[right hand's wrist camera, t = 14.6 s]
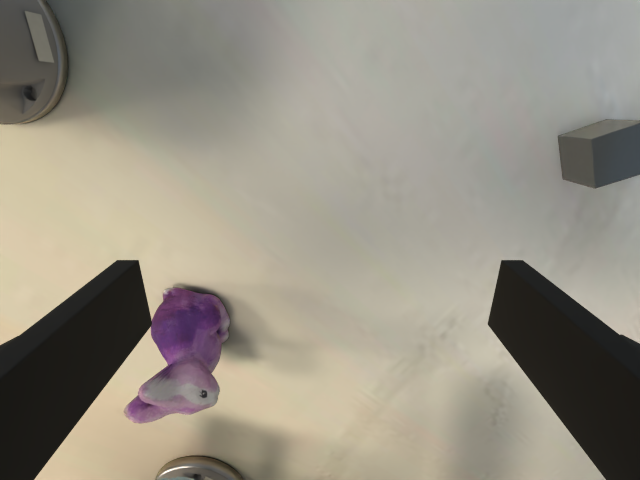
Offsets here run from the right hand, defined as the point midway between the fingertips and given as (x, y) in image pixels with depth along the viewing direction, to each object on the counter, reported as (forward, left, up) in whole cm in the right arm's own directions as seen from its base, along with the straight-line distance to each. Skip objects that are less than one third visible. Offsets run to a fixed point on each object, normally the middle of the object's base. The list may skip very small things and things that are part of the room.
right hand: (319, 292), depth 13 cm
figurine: (-16, -20, -28) cm, 37 cm away
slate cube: (+28, +2, -28) cm, 40 cm away
